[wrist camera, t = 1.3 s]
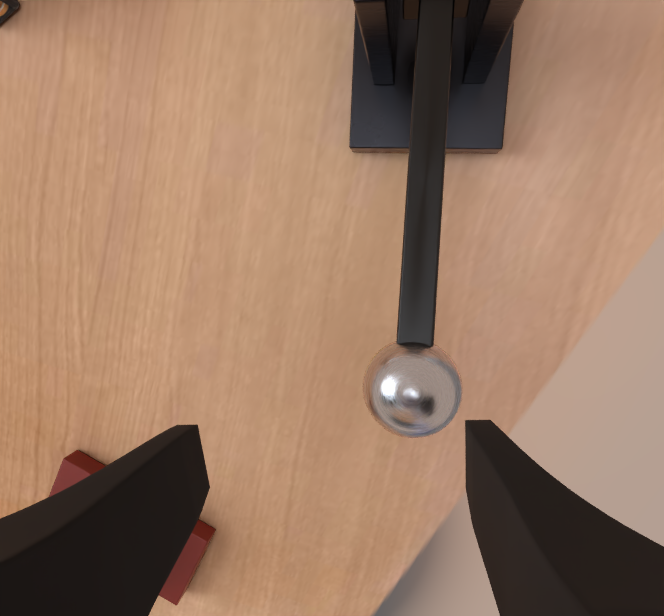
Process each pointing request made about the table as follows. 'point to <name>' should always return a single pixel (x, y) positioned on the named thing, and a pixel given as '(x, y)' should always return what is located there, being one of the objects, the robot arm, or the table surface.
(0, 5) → the ammunition clip
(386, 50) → the black pivot stand
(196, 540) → the block
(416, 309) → the lever
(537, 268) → the table surface
